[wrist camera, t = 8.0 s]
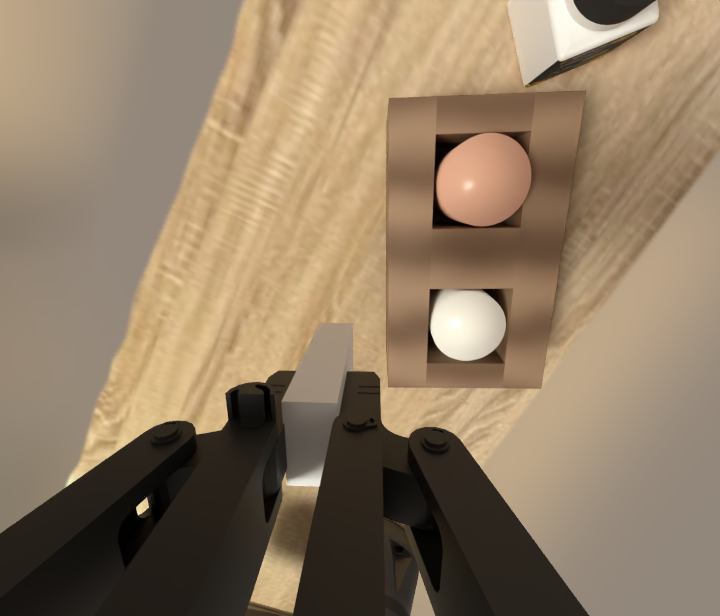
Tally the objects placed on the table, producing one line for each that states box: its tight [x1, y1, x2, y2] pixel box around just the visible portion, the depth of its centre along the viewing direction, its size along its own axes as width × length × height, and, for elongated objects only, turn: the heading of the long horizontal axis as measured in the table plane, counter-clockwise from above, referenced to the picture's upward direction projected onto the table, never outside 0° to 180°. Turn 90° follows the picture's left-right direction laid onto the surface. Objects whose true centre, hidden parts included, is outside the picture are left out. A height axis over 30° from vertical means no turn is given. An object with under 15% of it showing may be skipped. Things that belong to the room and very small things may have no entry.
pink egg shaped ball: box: [433, 133, 531, 226], centre depth 29 cm, size 6×6×8 cm
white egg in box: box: [428, 289, 506, 361], centre depth 34 cm, size 6×6×8 cm
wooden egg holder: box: [386, 91, 586, 389], centre depth 33 cm, size 24×14×9 cm, turn 1°
